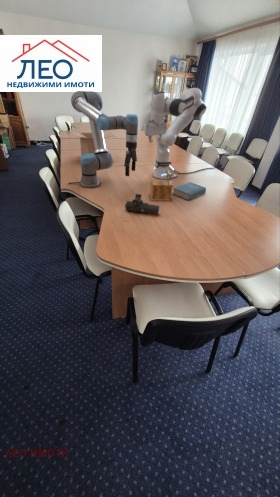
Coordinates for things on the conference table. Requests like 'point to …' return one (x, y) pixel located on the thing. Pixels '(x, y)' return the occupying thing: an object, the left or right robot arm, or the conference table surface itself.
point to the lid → (163, 182)
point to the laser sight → (141, 206)
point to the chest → (160, 193)
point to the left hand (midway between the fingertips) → (130, 173)
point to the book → (189, 190)
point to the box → (87, 141)
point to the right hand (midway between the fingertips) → (154, 141)
